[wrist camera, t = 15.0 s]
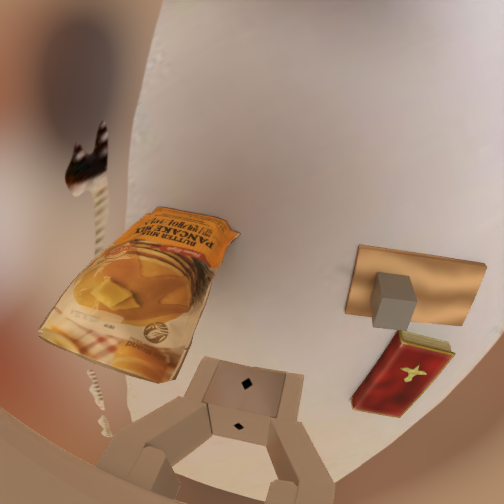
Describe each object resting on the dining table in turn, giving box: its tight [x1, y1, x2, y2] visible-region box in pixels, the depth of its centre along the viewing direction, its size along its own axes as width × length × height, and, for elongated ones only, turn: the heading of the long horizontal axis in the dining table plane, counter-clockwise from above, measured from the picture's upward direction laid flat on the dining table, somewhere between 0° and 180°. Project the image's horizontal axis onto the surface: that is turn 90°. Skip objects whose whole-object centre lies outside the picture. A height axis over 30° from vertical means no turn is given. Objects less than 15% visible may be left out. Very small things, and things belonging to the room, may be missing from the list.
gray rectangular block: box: [370, 272, 417, 331], centre depth 43 cm, size 5×5×7 cm
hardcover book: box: [351, 330, 455, 418], centre depth 54 cm, size 12×21×4 cm, turn 168°
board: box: [345, 245, 487, 326], centre depth 46 cm, size 12×22×1 cm, turn 89°
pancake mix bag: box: [38, 207, 240, 384], centre depth 39 cm, size 7×19×28 cm, turn 83°
